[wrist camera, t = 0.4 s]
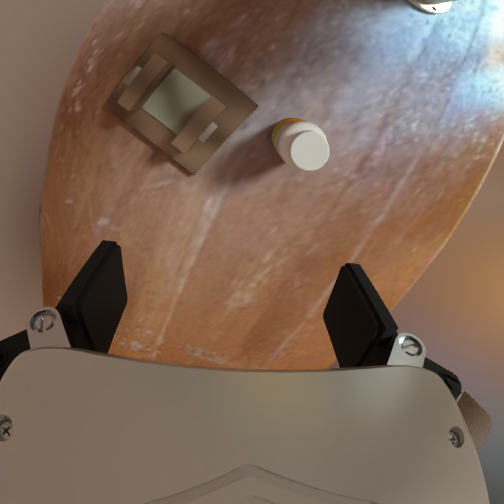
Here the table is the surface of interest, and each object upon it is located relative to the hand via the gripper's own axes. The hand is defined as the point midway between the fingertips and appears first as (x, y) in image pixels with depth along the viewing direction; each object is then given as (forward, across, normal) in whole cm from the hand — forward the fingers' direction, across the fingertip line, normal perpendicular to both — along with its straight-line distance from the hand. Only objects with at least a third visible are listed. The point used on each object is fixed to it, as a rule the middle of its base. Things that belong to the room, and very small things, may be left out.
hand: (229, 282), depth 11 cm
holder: (+27, +8, -6) cm, 28 cm away
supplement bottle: (+27, -7, -3) cm, 28 cm away
